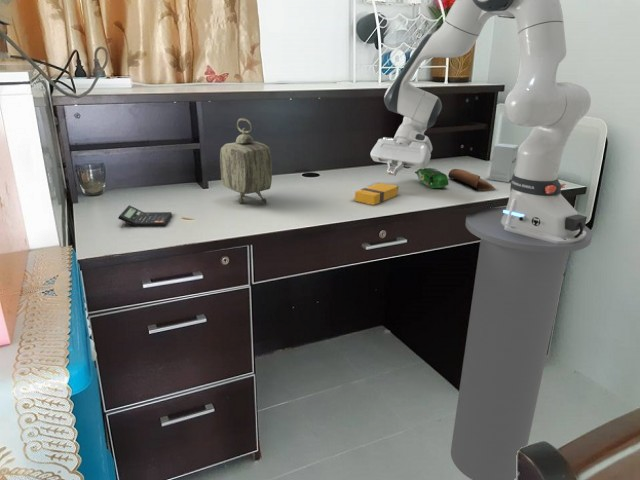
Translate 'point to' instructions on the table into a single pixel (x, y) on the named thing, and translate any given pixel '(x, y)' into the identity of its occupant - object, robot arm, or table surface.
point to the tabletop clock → (246, 165)
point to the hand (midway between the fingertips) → (390, 174)
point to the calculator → (144, 217)
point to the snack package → (432, 177)
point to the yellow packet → (376, 193)
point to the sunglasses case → (470, 179)
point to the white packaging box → (503, 162)
